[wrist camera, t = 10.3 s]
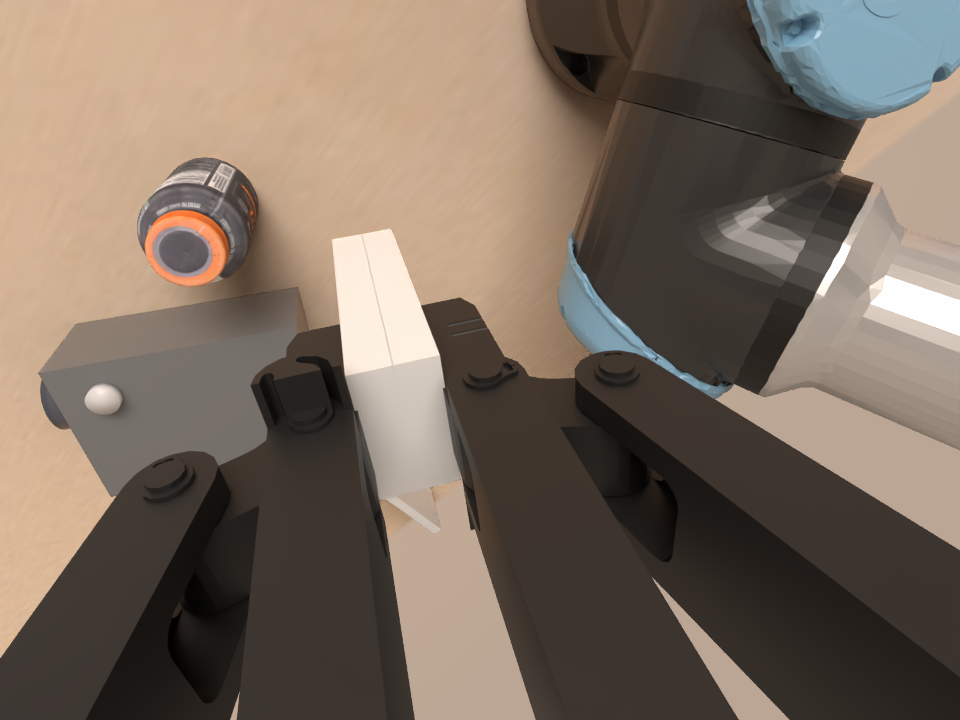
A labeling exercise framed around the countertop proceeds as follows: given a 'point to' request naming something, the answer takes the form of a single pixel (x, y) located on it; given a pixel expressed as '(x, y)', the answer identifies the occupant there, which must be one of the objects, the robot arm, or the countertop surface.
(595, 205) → the robot arm
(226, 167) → the pill bottle
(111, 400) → the camera case
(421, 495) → the side door
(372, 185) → the countertop surface
